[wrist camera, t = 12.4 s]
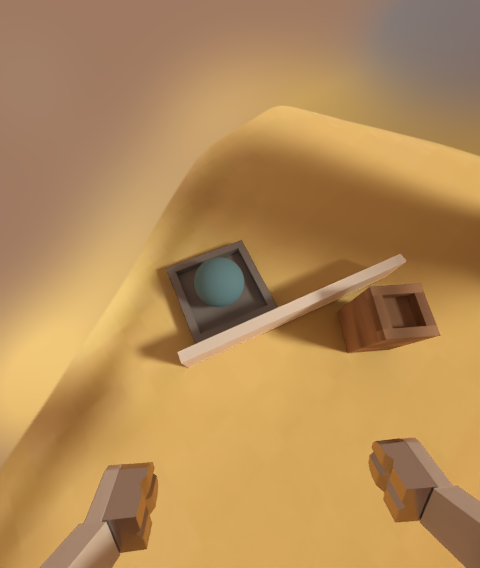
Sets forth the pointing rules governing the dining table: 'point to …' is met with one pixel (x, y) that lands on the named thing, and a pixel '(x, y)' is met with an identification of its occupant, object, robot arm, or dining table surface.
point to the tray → (219, 319)
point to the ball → (219, 282)
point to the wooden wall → (287, 312)
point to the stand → (387, 318)
